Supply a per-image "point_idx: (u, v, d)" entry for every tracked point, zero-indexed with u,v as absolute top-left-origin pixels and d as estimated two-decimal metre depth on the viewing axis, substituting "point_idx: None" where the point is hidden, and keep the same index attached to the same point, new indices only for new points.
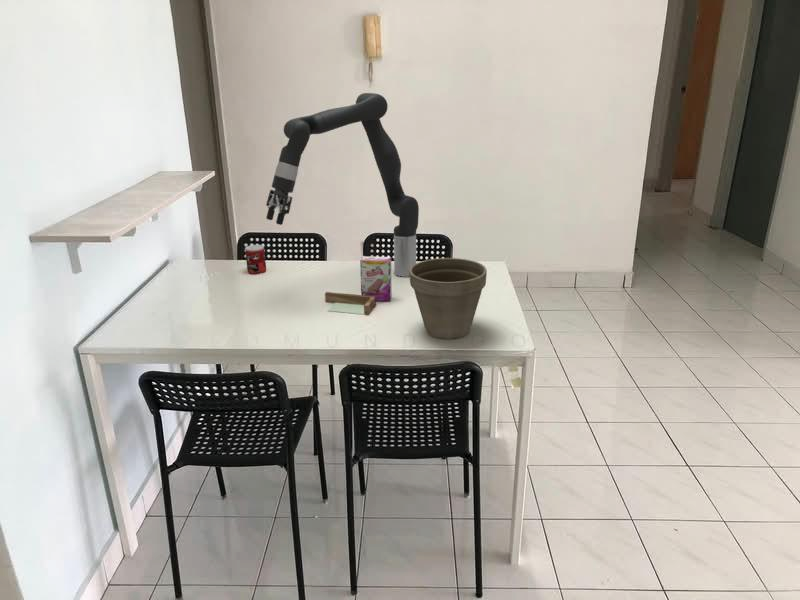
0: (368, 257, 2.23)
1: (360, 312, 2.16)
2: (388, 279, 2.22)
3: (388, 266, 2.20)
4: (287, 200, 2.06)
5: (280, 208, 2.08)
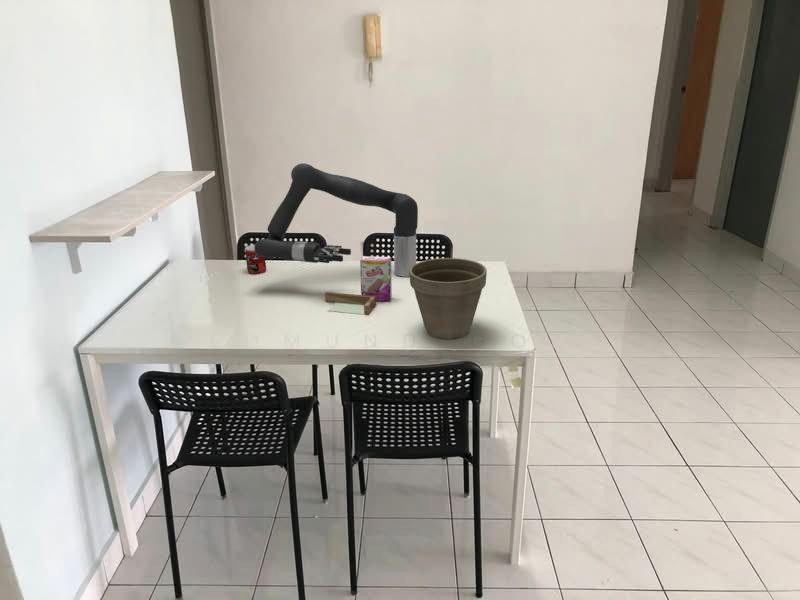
0: (368, 257, 2.22)
1: (360, 312, 2.16)
2: (388, 279, 2.22)
3: (388, 266, 2.20)
4: (317, 259, 2.20)
5: None
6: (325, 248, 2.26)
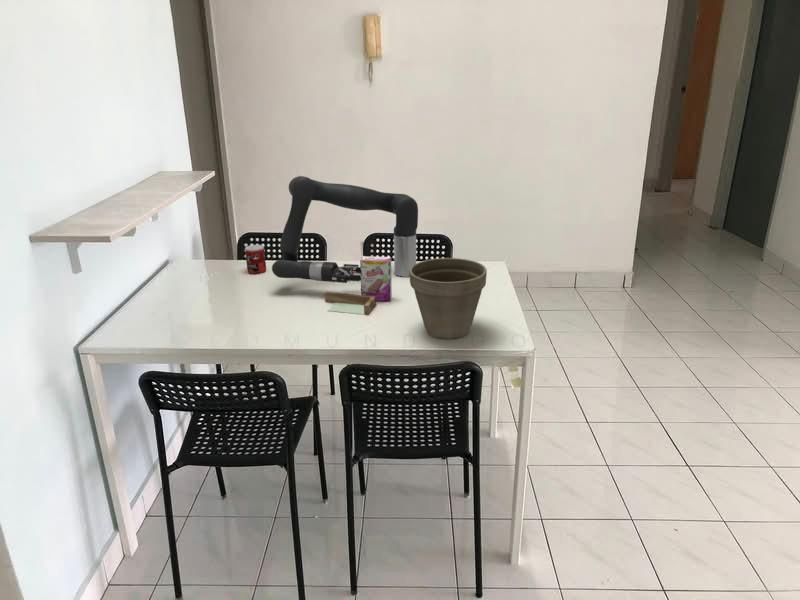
0: (368, 257, 2.22)
1: (360, 312, 2.16)
2: (388, 279, 2.22)
3: (388, 266, 2.20)
4: (335, 279, 2.22)
5: None
6: (342, 267, 2.28)
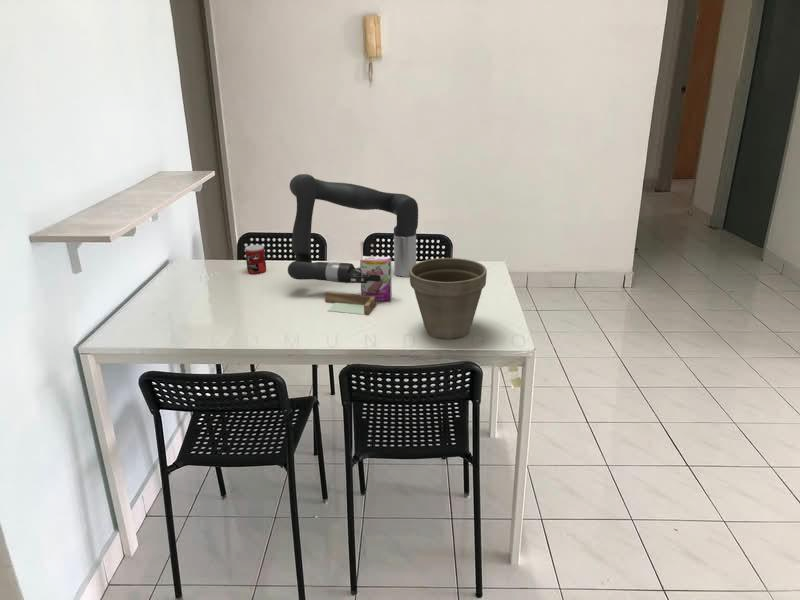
0: (368, 257, 2.22)
1: (360, 312, 2.16)
2: (388, 279, 2.22)
3: (388, 266, 2.20)
4: (354, 280, 2.20)
5: None
6: (358, 269, 2.26)
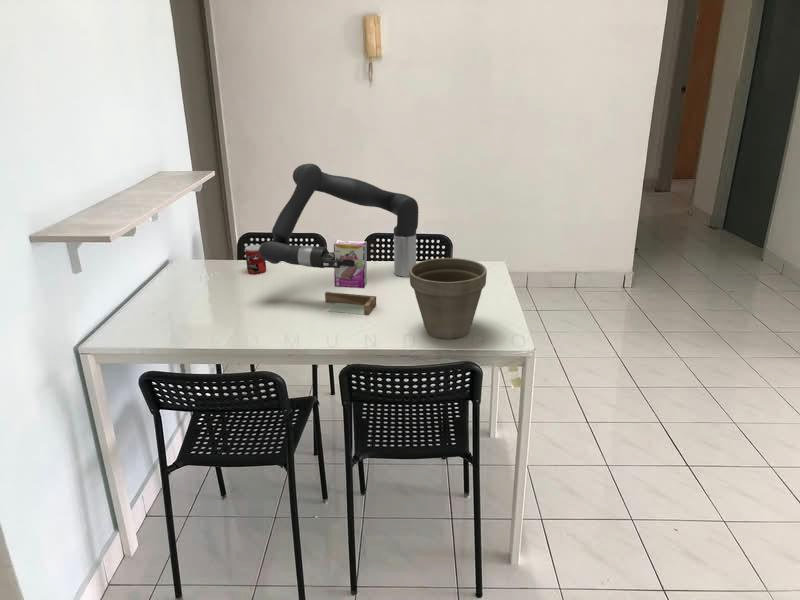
0: (342, 241, 2.12)
1: (360, 312, 2.16)
2: (362, 264, 2.12)
3: (362, 251, 2.10)
4: (327, 265, 2.10)
5: None
6: (332, 253, 2.16)
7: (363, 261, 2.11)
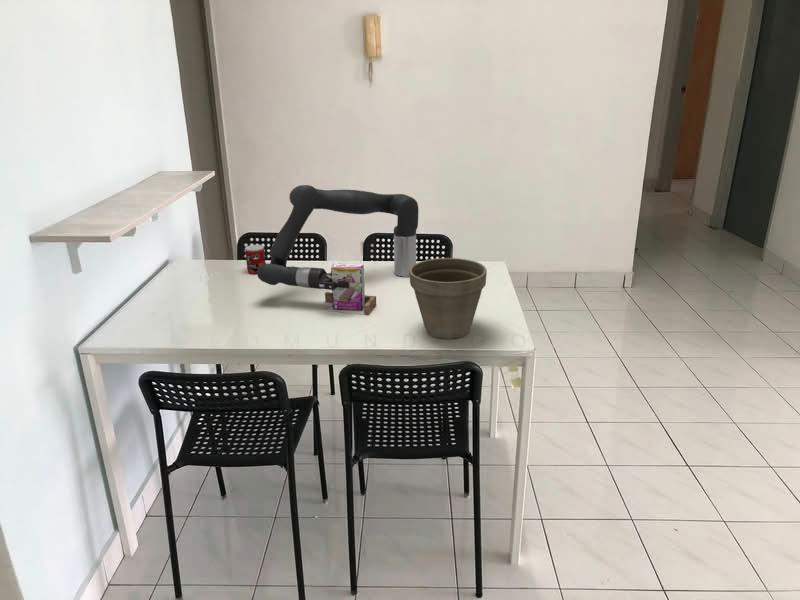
0: (340, 264, 2.14)
1: (360, 312, 2.16)
2: (360, 287, 2.13)
3: (360, 274, 2.11)
4: (322, 286, 2.11)
5: None
6: (330, 274, 2.17)
7: (360, 284, 2.13)
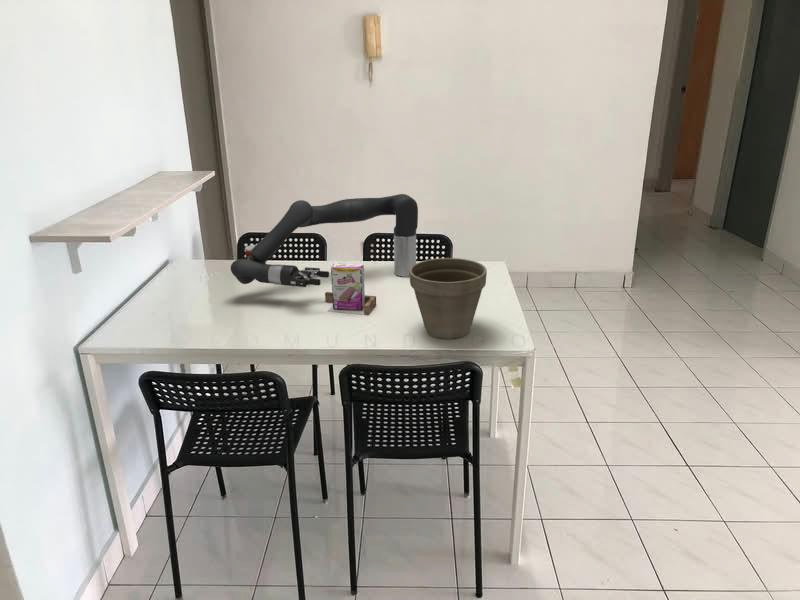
0: (340, 264, 2.14)
1: (360, 312, 2.16)
2: (360, 287, 2.13)
3: (360, 274, 2.11)
4: (294, 283, 2.14)
5: None
6: (302, 271, 2.20)
7: (360, 284, 2.13)
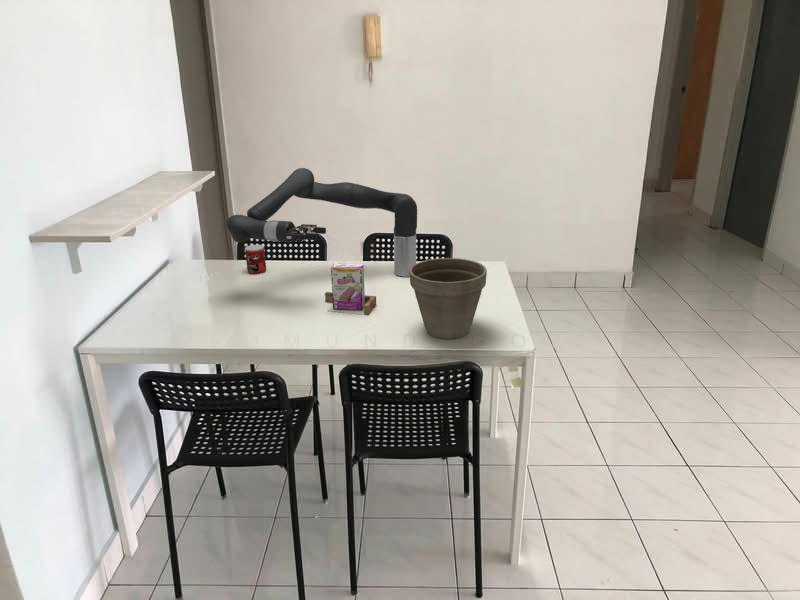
0: (340, 264, 2.14)
1: (360, 312, 2.16)
2: (360, 287, 2.13)
3: (360, 274, 2.11)
4: (290, 238, 2.10)
5: None
6: (299, 227, 2.16)
7: (360, 284, 2.13)
